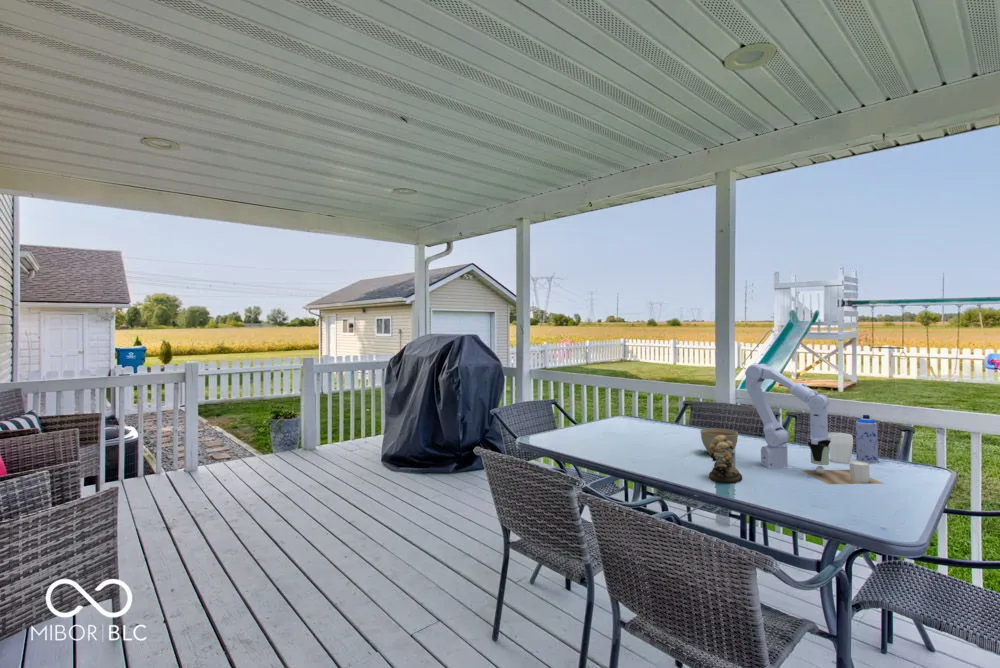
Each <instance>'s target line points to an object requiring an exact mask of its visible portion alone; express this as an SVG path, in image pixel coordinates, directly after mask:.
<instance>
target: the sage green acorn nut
mask: <svg viewBox="0 0 1000 668" xmlns="http://www.w3.org/2000/svg"><path fill="white" fill-rule="evenodd" d="M810 463H811V464H814V465H817V466H828V465H829V464H830V451H829V446H828V447H827V446H825V447H824V449H823V452H822V459H821V461H814V458H813V454H812V451H811V450H810Z"/></svg>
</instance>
